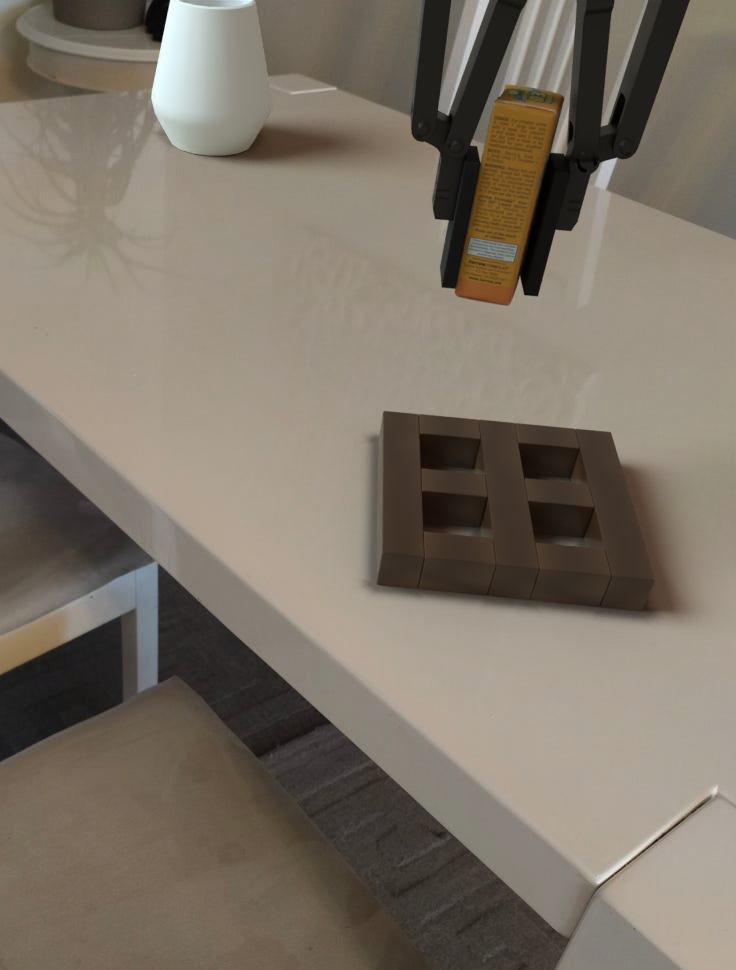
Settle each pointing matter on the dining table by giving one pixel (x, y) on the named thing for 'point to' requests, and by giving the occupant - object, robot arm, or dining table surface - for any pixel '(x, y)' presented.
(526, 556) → the socket block
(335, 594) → the dining table surface
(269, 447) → the dining table surface
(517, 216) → the supplement box
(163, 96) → the white vase
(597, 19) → the robot arm
